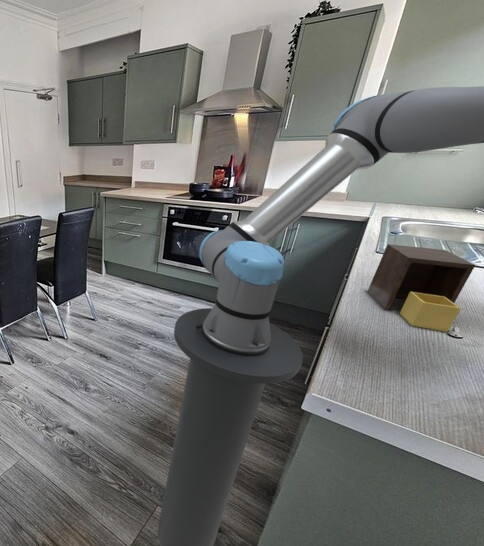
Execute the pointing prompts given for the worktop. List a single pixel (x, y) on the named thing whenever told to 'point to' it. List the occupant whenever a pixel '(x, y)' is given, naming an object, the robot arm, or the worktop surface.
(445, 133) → the robot arm
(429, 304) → the basket
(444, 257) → the shelf
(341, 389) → the worktop surface
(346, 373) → the worktop surface
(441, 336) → the worktop surface
